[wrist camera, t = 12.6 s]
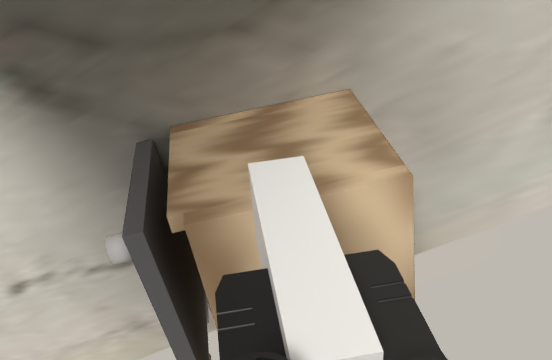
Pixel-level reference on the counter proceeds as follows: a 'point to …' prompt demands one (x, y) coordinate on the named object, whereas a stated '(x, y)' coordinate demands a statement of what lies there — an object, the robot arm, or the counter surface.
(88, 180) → the counter surface
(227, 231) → the box
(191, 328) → the door
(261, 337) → the robot arm
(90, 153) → the counter surface
